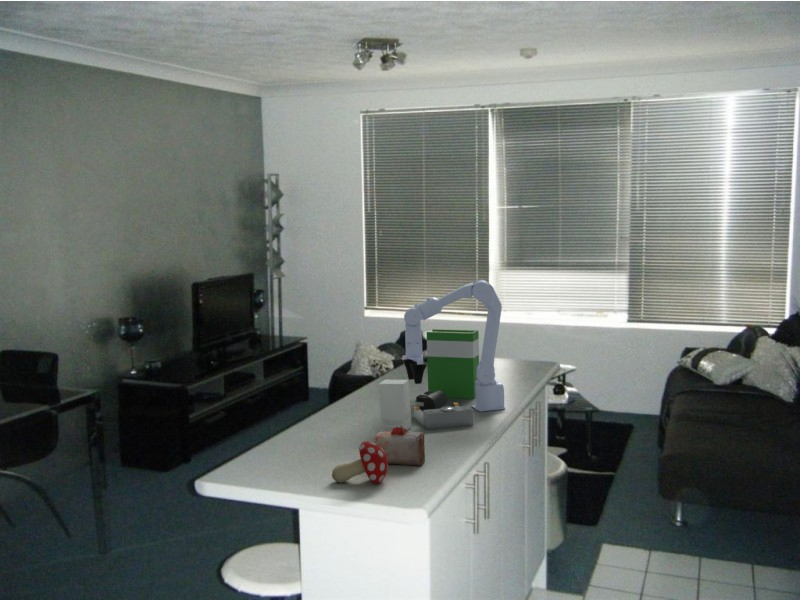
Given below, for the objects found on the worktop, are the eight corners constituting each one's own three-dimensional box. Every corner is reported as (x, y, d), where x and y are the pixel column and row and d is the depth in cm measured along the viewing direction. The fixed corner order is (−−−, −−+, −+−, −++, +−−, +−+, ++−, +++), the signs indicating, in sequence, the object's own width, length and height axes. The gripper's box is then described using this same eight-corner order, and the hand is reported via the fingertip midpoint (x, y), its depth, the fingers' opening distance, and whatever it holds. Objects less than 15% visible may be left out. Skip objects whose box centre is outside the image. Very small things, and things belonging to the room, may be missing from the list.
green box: (428, 396, 297) (426, 332, 294) (434, 391, 304) (433, 329, 301) (474, 398, 290) (472, 333, 288) (479, 394, 297) (478, 330, 294)
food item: (372, 465, 218) (371, 430, 217) (380, 456, 225) (379, 422, 224) (421, 468, 214) (420, 432, 213) (427, 459, 222) (426, 424, 221)
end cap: (434, 416, 267) (434, 397, 266) (415, 414, 270) (415, 395, 270) (447, 409, 276) (447, 390, 275) (428, 408, 279) (428, 389, 278)
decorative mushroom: (320, 451, 203) (374, 430, 201) (334, 462, 212) (386, 442, 211) (330, 492, 197) (386, 471, 196) (344, 502, 207) (398, 481, 205)
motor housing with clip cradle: (456, 413, 270) (456, 396, 270) (473, 424, 255) (472, 407, 254) (414, 417, 267) (413, 400, 266) (428, 429, 251) (427, 412, 251)
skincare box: (411, 427, 254) (410, 379, 252) (405, 433, 248) (403, 383, 246) (387, 426, 257) (385, 378, 255) (379, 431, 251) (378, 382, 249)
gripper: (397, 340, 282) (398, 378, 283) (408, 346, 268) (409, 386, 269) (416, 339, 283) (417, 376, 285) (428, 345, 270) (429, 384, 271)
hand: (415, 381), depth 277 cm, fingers open, 7 cm apart
